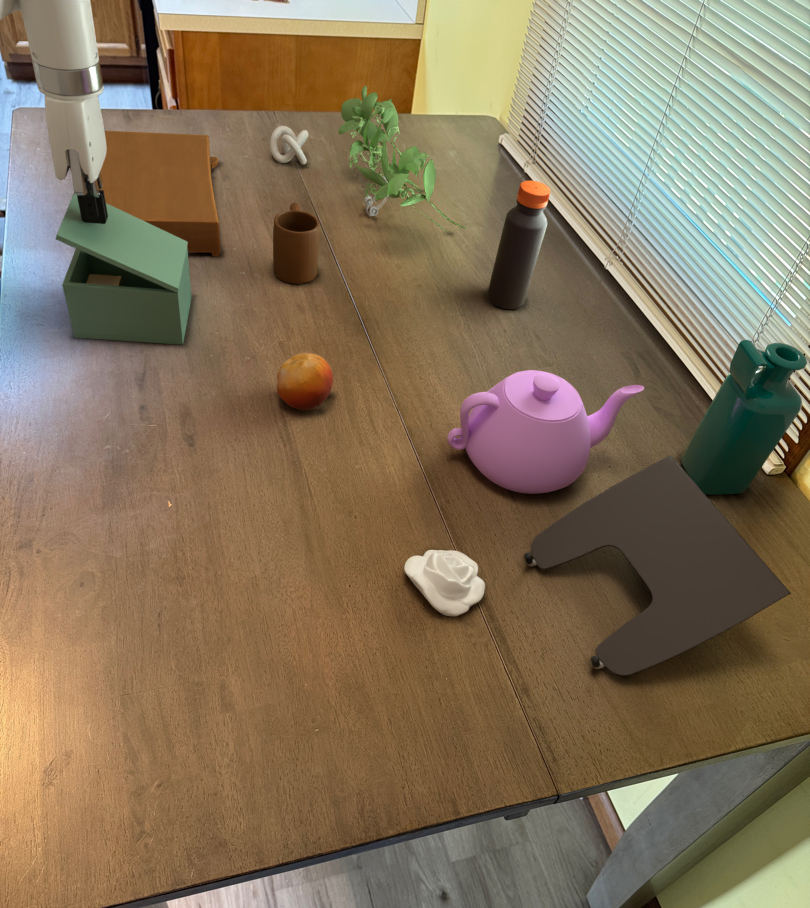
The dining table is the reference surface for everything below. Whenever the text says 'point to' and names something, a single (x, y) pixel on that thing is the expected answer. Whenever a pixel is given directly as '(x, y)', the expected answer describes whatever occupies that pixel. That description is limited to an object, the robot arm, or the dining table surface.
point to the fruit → (305, 381)
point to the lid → (127, 244)
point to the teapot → (533, 431)
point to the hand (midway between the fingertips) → (95, 220)
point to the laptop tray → (665, 564)
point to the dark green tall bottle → (745, 419)
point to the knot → (288, 144)
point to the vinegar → (519, 246)
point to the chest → (125, 304)
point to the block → (104, 280)
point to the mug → (295, 245)
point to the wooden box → (164, 184)
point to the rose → (446, 580)
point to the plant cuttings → (385, 153)
